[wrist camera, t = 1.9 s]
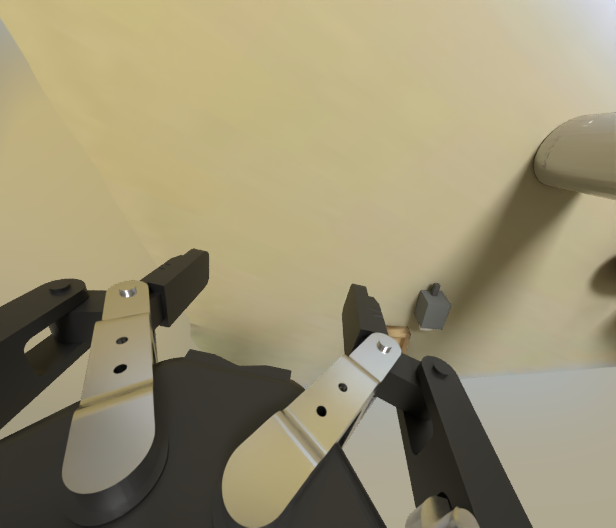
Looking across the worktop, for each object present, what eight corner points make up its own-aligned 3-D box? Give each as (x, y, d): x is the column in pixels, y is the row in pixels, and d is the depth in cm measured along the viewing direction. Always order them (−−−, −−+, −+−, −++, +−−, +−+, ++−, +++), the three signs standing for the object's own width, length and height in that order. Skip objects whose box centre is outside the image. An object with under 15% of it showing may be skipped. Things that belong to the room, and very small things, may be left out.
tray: (408, 327, 51) (410, 334, 49) (396, 369, 58) (398, 377, 56) (357, 323, 52) (358, 330, 50) (352, 364, 59) (352, 372, 57)
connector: (444, 280, 45) (455, 294, 41) (431, 322, 50) (439, 337, 46) (423, 279, 45) (431, 292, 41) (411, 320, 50) (418, 336, 46)
